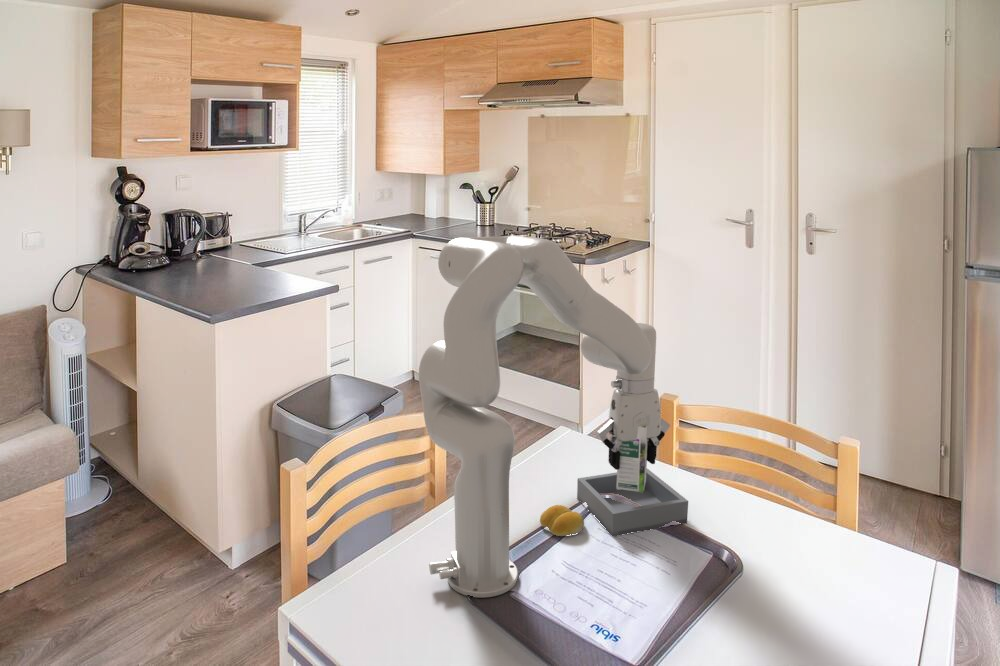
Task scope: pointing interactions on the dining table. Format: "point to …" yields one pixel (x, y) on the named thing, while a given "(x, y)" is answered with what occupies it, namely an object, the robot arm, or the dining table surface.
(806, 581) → the dining table surface
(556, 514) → the bread roll
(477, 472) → the robot arm
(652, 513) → the bin
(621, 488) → the syrup box
